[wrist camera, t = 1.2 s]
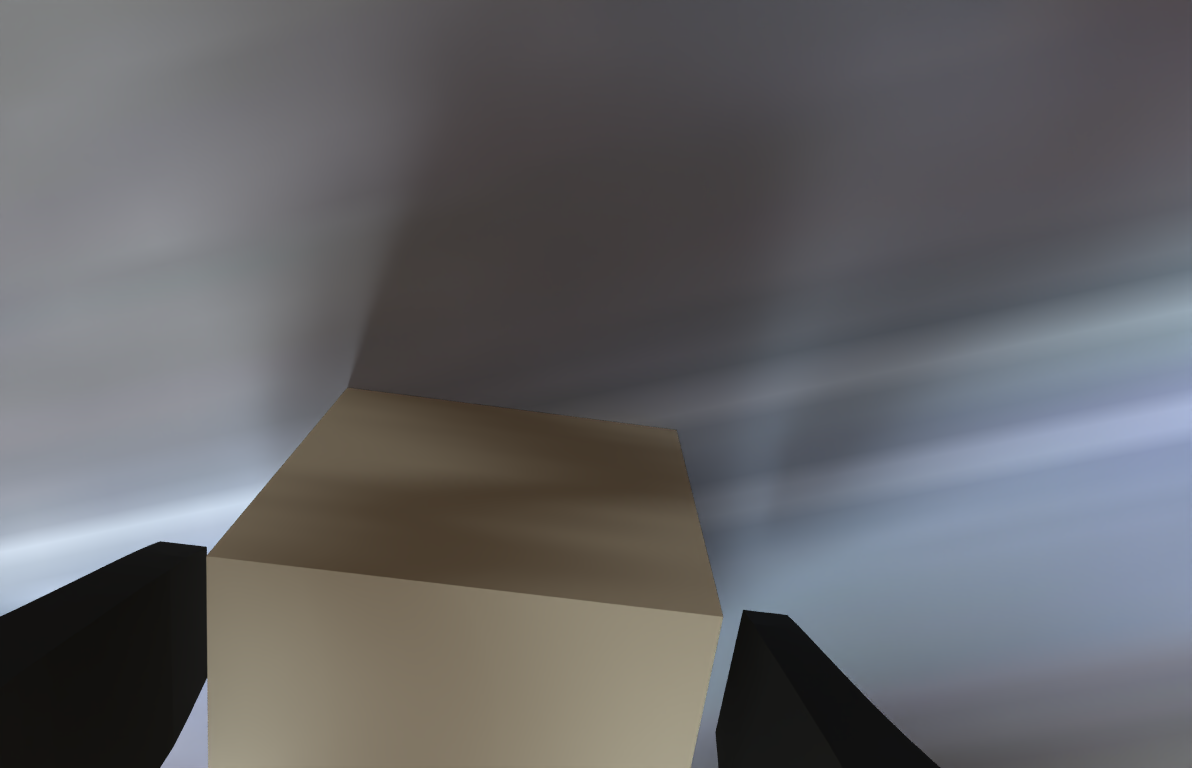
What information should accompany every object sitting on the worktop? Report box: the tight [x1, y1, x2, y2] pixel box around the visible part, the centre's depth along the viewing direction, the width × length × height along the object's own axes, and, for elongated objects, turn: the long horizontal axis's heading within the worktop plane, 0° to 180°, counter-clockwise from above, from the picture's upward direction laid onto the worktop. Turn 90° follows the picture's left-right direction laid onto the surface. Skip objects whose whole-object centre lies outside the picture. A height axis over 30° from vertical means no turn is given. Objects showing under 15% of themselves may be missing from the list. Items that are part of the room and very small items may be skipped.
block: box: [206, 388, 723, 768], centre depth 11 cm, size 5×5×5 cm
